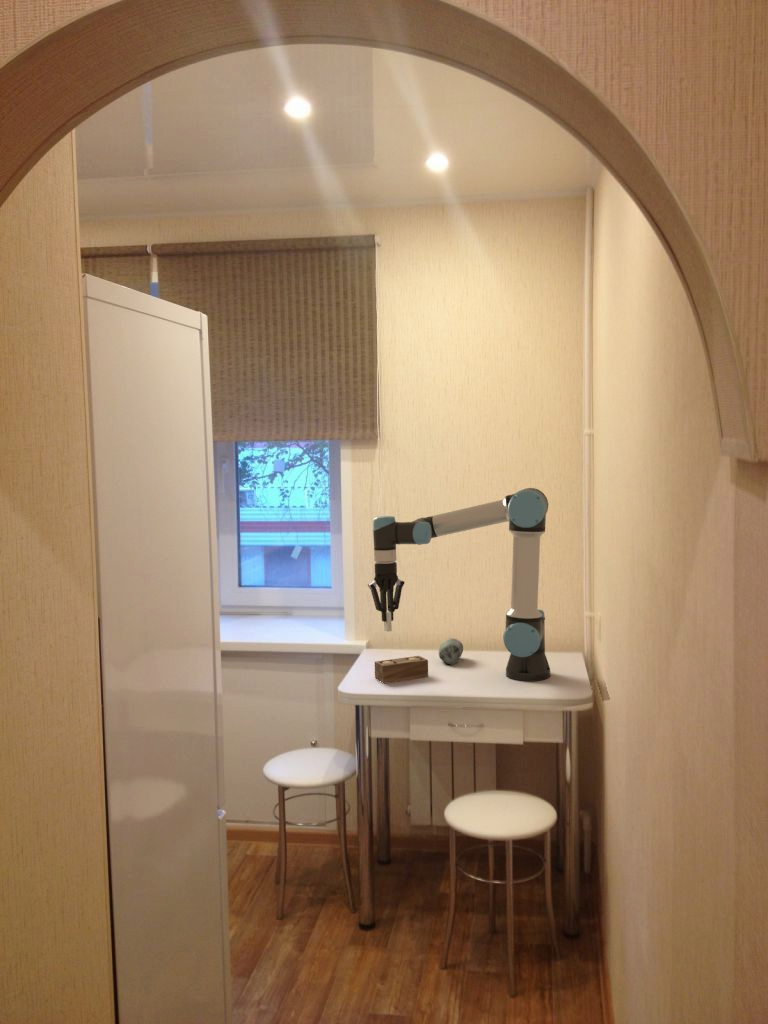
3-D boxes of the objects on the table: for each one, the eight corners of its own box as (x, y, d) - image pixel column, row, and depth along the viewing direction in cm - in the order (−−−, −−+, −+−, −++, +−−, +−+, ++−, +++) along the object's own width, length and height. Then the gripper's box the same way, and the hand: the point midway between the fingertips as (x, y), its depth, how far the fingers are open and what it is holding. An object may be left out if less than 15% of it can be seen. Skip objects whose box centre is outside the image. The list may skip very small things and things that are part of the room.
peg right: (422, 673, 310) (422, 659, 309) (412, 675, 308) (411, 660, 307) (417, 671, 313) (416, 657, 313) (406, 672, 311) (406, 658, 311)
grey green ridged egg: (464, 657, 321) (452, 632, 324) (441, 669, 323) (429, 644, 326) (472, 658, 334) (460, 634, 337) (449, 669, 336) (438, 645, 339)
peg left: (396, 677, 305) (395, 663, 305) (385, 678, 304) (385, 664, 303) (391, 674, 309) (390, 660, 309) (380, 676, 307) (380, 662, 307)
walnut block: (428, 676, 309) (427, 659, 308) (383, 683, 302) (383, 665, 301) (419, 672, 315) (418, 655, 315) (375, 678, 308) (374, 661, 308)
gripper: (398, 559, 310) (400, 626, 311) (363, 562, 304) (366, 631, 306) (407, 561, 303) (410, 630, 304) (372, 564, 297) (375, 634, 299)
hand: (388, 630), depth 305 cm, fingers closed
